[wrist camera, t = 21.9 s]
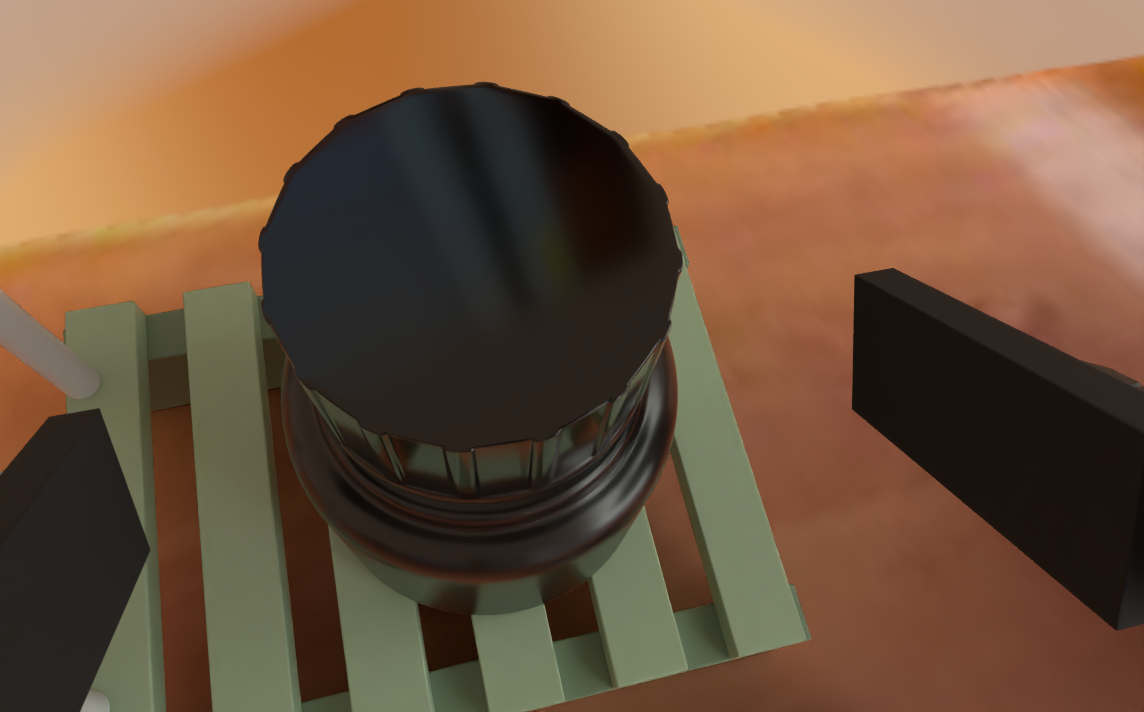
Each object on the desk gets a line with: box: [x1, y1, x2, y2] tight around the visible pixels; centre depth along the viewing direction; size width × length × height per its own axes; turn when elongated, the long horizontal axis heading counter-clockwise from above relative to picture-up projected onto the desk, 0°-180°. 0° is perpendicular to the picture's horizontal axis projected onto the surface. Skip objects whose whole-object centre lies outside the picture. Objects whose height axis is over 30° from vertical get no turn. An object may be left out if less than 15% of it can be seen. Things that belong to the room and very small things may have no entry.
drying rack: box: [0, 226, 811, 712], centre depth 24 cm, size 20×14×12 cm
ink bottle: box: [258, 82, 683, 615], centre depth 19 cm, size 10×9×12 cm
